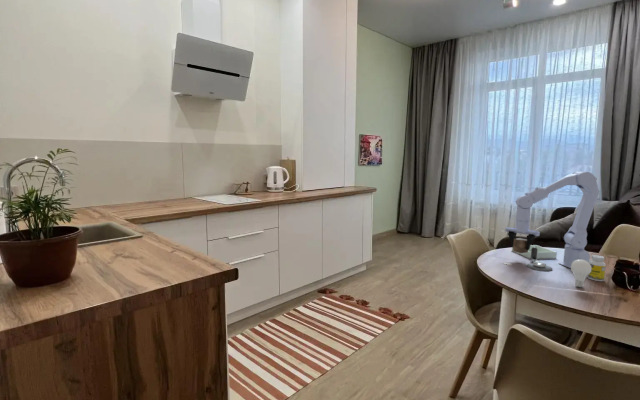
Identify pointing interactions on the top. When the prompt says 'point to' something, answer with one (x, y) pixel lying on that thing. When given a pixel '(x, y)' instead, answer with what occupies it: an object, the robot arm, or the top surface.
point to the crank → (534, 259)
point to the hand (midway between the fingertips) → (520, 248)
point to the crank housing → (536, 267)
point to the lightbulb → (580, 271)
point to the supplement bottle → (597, 268)
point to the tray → (539, 253)
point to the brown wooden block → (520, 245)
